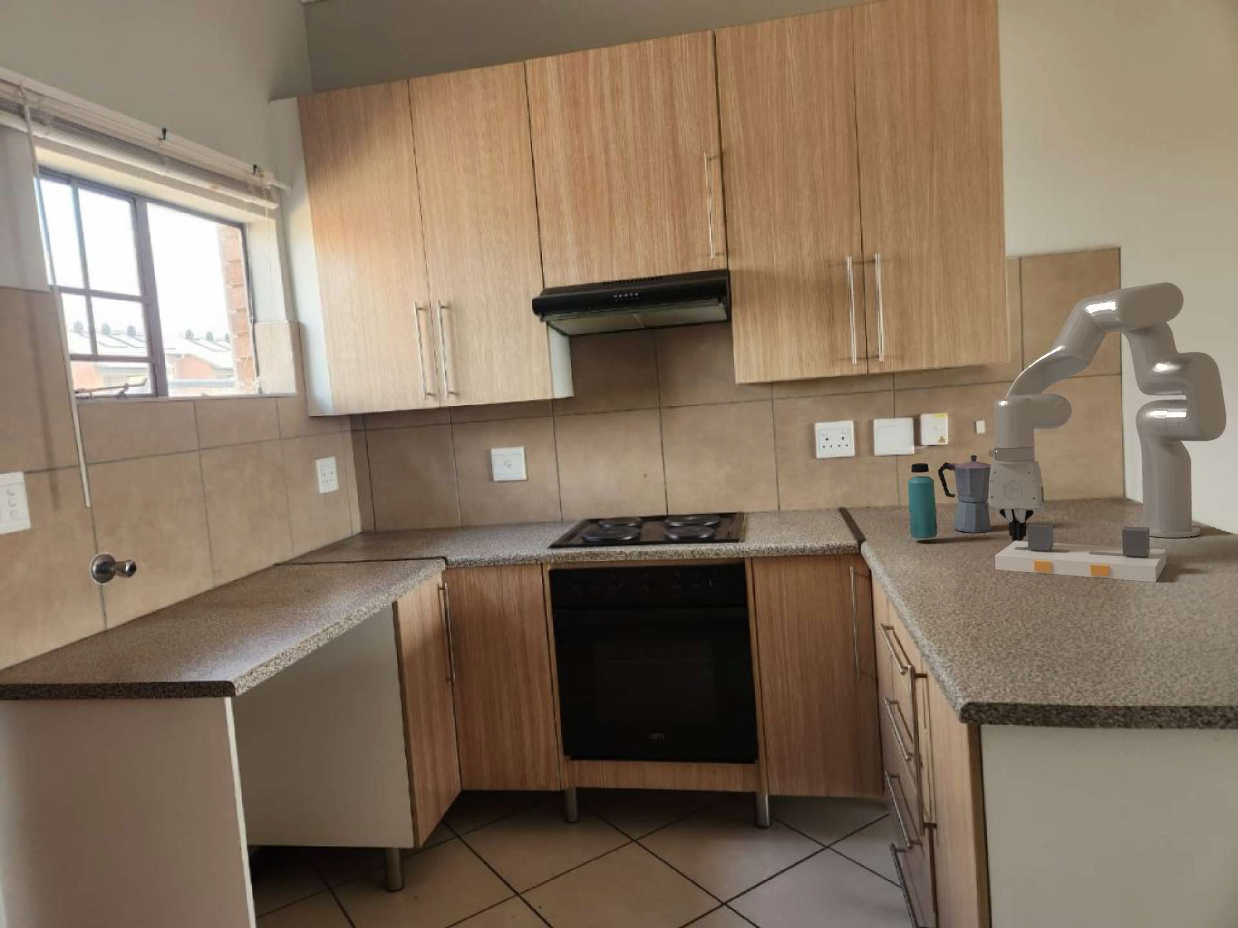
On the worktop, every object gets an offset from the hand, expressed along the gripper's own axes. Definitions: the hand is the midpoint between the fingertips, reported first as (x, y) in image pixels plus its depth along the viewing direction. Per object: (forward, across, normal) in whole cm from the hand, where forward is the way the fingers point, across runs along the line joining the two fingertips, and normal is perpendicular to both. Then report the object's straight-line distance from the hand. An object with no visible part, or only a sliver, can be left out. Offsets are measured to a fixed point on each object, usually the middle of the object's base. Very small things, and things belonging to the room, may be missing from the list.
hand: (1017, 539), depth 168 cm
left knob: (+2, +4, 0) cm, 5 cm away
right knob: (+2, +21, 0) cm, 21 cm away
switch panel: (+5, +11, 0) cm, 12 cm away
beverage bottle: (+5, -26, +15) cm, 30 cm away
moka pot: (+5, -20, +33) cm, 39 cm away
